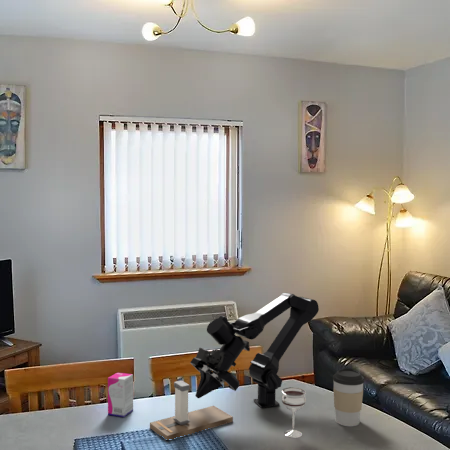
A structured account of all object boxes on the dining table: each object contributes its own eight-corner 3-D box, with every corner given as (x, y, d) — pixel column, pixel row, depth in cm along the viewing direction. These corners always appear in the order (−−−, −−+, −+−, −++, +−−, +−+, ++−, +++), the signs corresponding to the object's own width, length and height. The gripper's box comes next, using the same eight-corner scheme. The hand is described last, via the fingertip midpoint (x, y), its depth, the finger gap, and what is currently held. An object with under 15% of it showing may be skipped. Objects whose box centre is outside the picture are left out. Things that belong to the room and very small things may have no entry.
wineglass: (308, 431, 152) (309, 389, 151) (301, 441, 146) (302, 397, 145) (285, 426, 155) (286, 385, 154) (277, 436, 149) (278, 393, 148)
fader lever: (182, 417, 156) (182, 380, 155) (190, 422, 152) (190, 384, 152) (173, 419, 154) (173, 382, 154) (180, 425, 151) (181, 386, 150)
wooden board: (213, 410, 166) (213, 405, 166) (232, 421, 158) (232, 416, 158) (149, 427, 153) (149, 422, 153) (167, 441, 145) (167, 435, 145)
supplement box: (133, 410, 165) (133, 373, 165) (124, 418, 160) (124, 380, 159) (117, 407, 167) (117, 371, 166) (107, 415, 162) (106, 377, 161)
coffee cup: (363, 429, 154) (365, 377, 153) (331, 426, 155) (332, 375, 155) (362, 416, 162) (363, 367, 162) (331, 413, 164) (332, 365, 163)
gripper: (195, 330, 166) (164, 372, 160) (231, 345, 150) (197, 391, 145) (216, 352, 171) (186, 393, 165) (253, 368, 156) (221, 413, 150)
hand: (196, 397), depth 156 cm, fingers closed
